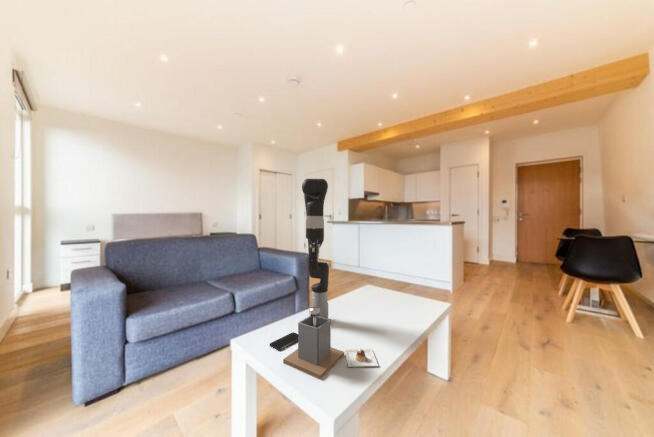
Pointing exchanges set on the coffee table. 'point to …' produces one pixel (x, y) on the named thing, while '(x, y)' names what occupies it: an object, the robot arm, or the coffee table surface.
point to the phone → (285, 341)
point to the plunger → (314, 313)
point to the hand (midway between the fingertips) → (314, 269)
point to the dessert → (361, 356)
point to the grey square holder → (314, 348)
